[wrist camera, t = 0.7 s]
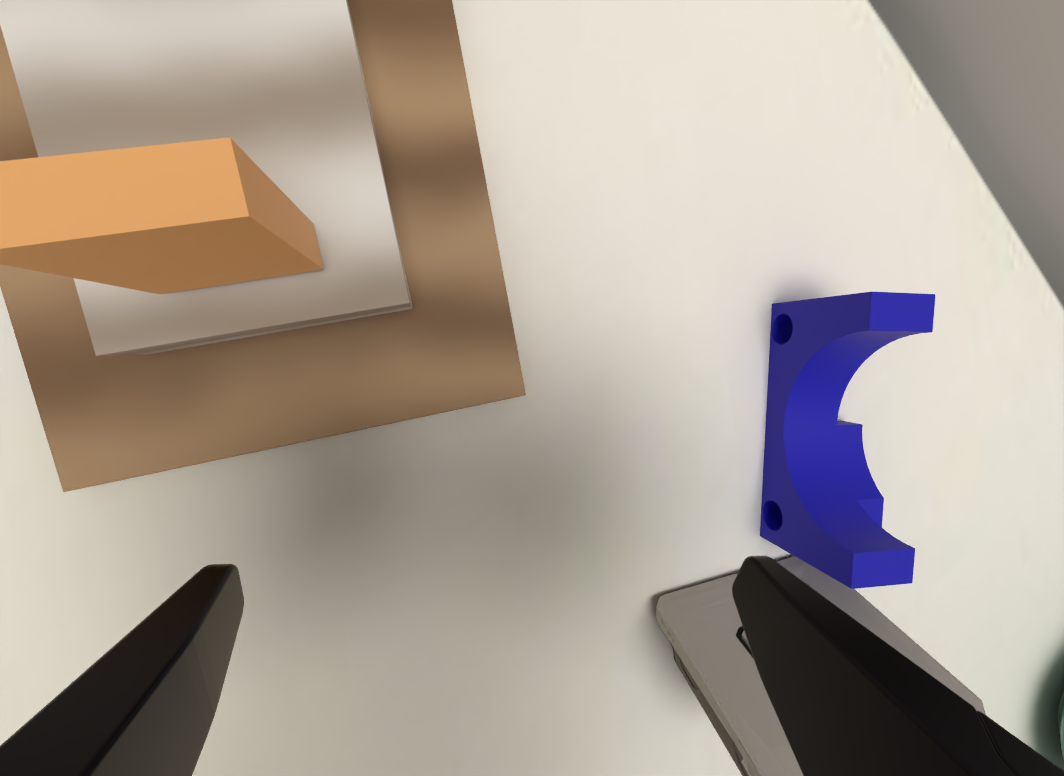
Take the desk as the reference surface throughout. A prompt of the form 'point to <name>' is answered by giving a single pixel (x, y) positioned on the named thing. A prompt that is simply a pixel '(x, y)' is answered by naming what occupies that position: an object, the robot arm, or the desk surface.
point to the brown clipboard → (308, 181)
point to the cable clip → (830, 435)
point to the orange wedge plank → (153, 218)
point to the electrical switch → (730, 671)
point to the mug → (1061, 722)
